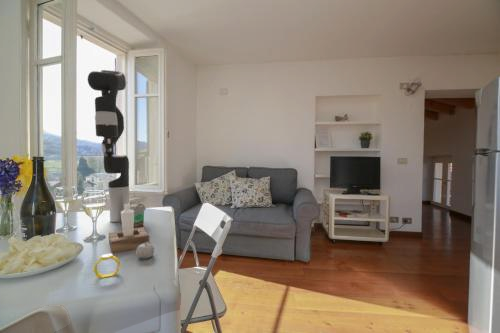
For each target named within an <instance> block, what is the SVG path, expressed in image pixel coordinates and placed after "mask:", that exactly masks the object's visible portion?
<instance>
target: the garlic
mask: <svg viewBox="0 0 500 333" xmlns="http://www.w3.org/2000/svg"><path fill="white" fill-rule="evenodd" d="M135 252H136V256H137V257H138V258H140V260H141V259H143V260H148V259H149V258H151V257H152V256H153V255H154V253H155V247H154V245H153V244H152V243H151V241H149V242H145V243H143V244H141V245H139V246H138V247H137V248H136V250H135Z"/></svg>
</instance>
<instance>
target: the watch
mask: <svg viewBox="0 0 500 333" xmlns="http://www.w3.org/2000/svg"><path fill="white" fill-rule="evenodd" d="M110 259H112V260H114V261H115V262H116V263H117V268H116V270H115V271H114V272H112V273H107V274H102V273H100V272H99V271H98V269H97V268H98V263H100V262H101V261H103V260H104V261H107V260H110ZM120 266H121V263H120V259H119V258H118V257H117V256H115V255H114V253H104V254H102V255H101V257H100V258H99V259H97V261H96V263H95V264H94V268H93V272H94V274H95V276H96V277H98V278H99V279H104V278H111V277H114V276H116V274H118V272H119V270H120Z"/></svg>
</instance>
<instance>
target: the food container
mask: <svg viewBox="0 0 500 333" xmlns="http://www.w3.org/2000/svg"><path fill="white" fill-rule="evenodd" d="M130 209H131V210H134V228H140V227H143V228H144V224H145V223H144V222H145V221H144V220H145V219H144V218H145V211H146V206H145V204H143V203H138V205H137V206H132V207H131V206H130ZM123 210H124V209H122V211H123Z"/></svg>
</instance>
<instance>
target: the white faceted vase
mask: <svg viewBox="0 0 500 333" xmlns="http://www.w3.org/2000/svg"><path fill="white" fill-rule="evenodd" d="M130 205H131V203H130V204H124V210H123V211H121V220H122V221H121V226H122V227H121V228H122V230H123V237H127V236H132V235H133V232H134V210H131V209H130V208H131V206H130Z"/></svg>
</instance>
